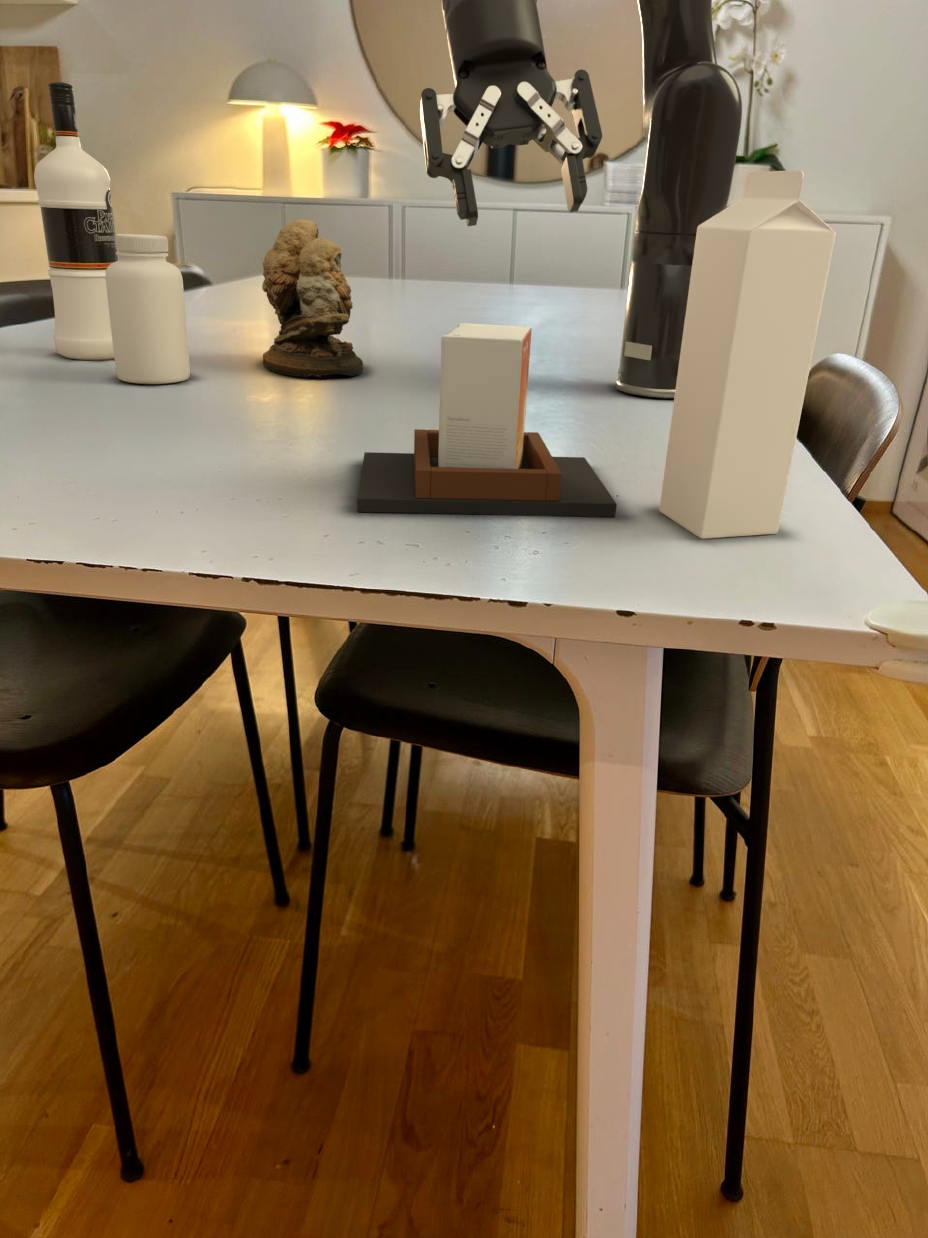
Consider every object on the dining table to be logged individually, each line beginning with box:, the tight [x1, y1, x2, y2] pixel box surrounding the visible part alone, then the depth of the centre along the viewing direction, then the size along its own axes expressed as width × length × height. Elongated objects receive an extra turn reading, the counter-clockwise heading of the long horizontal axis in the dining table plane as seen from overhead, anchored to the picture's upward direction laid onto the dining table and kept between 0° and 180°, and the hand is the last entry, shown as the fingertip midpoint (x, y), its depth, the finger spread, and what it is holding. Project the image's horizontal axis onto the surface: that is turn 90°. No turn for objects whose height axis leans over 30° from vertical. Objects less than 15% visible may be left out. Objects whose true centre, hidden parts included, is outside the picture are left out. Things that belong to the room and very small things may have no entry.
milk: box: [658, 170, 837, 540], centre depth 58 cm, size 6×6×22 cm
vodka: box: [33, 81, 119, 361], centre depth 108 cm, size 9×9×30 cm
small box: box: [438, 322, 532, 469], centre depth 65 cm, size 8×6×10 cm
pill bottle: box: [105, 233, 191, 385], centre depth 99 cm, size 8×8×15 cm
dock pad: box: [356, 428, 617, 518], centre depth 68 cm, size 18×12×3 cm
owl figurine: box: [261, 218, 364, 378], centre depth 109 cm, size 18×12×17 cm, turn 28°
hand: (524, 214), depth 73 cm, fingers open, 8 cm apart
